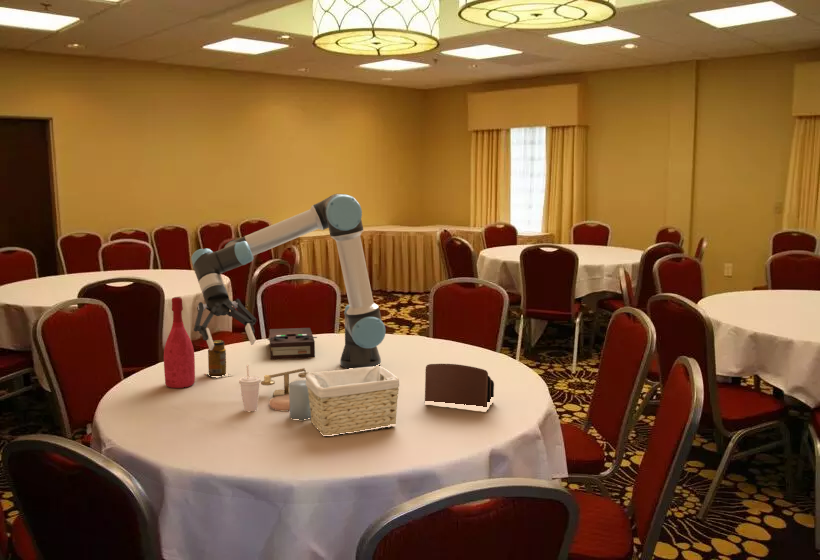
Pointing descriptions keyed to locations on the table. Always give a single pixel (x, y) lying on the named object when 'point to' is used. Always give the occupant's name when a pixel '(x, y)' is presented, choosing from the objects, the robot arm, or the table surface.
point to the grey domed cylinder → (299, 400)
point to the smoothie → (249, 391)
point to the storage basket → (352, 399)
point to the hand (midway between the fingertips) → (233, 345)
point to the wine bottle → (178, 352)
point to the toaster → (458, 384)
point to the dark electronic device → (291, 343)
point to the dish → (280, 403)
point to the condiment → (217, 359)
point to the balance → (286, 381)
